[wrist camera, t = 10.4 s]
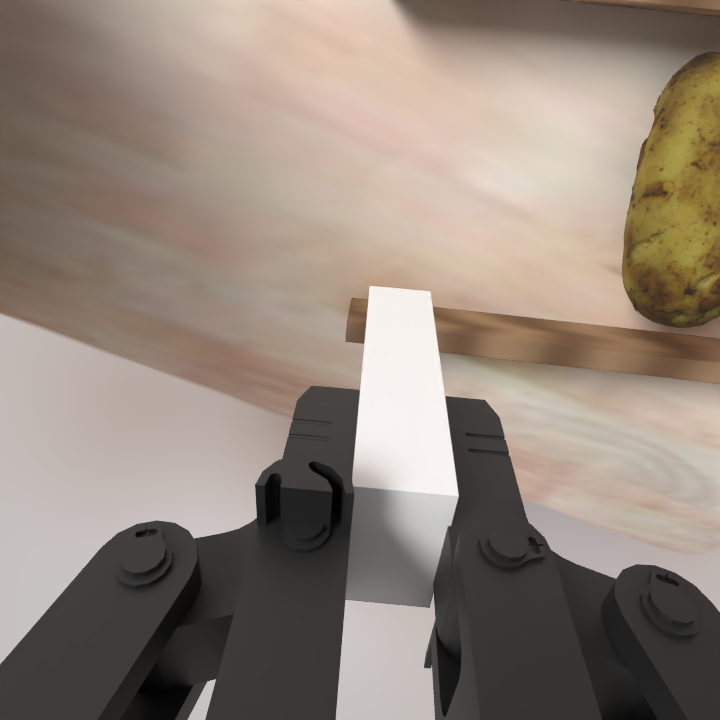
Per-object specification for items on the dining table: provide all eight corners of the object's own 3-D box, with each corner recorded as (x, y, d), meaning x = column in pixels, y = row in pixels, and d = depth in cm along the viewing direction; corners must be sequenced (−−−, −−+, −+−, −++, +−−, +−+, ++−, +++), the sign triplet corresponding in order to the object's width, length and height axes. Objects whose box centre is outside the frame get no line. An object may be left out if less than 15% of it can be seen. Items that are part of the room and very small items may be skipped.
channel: (350, 316, 37) (343, 353, 33) (382, -56, 26) (377, -74, 21) (770, 363, 36) (818, 406, 32) (992, 5, 25) (1110, 0, 21)
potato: (810, 89, 28) (941, 106, 21) (666, 296, 34) (730, 360, 28) (670, 37, 27) (759, 38, 20) (551, 260, 34) (588, 316, 27)
